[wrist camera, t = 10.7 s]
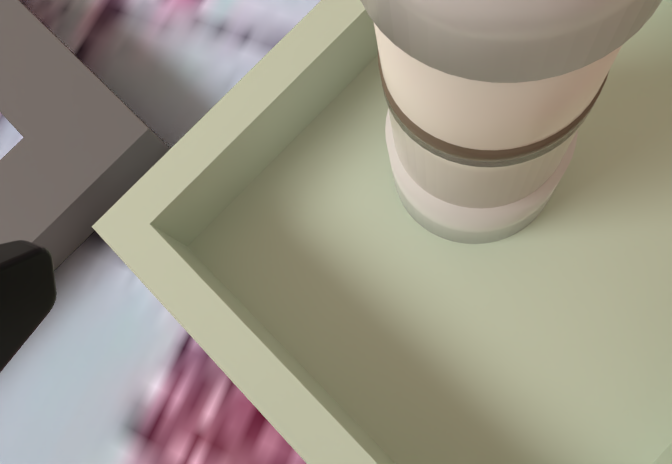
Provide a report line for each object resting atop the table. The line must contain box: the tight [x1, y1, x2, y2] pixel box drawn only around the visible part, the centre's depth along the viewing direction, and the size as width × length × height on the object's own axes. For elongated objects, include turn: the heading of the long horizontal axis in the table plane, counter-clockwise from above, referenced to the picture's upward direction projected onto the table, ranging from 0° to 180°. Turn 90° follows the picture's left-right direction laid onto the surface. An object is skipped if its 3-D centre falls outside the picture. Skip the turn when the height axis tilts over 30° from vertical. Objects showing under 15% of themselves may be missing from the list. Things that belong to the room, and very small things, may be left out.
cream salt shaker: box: [361, 0, 662, 244], centre depth 13 cm, size 5×5×13 cm
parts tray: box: [92, 0, 672, 464], centre depth 18 cm, size 16×18×4 cm
